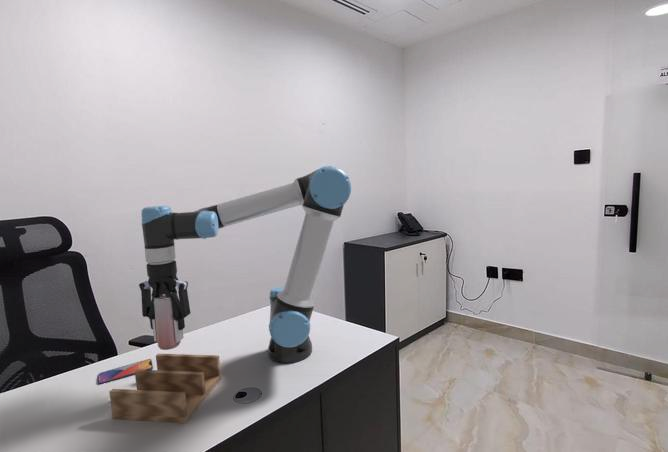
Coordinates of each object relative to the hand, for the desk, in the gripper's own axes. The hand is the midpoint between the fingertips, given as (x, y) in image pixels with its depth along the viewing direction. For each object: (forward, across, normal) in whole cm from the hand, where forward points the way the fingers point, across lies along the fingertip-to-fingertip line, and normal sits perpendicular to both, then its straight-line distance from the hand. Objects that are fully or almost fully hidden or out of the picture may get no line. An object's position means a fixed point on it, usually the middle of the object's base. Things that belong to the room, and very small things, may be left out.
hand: (169, 339), depth 100 cm
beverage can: (+2, 0, 0) cm, 2 cm away
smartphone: (+15, +21, -7) cm, 27 cm away
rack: (+15, -2, +4) cm, 16 cm away
